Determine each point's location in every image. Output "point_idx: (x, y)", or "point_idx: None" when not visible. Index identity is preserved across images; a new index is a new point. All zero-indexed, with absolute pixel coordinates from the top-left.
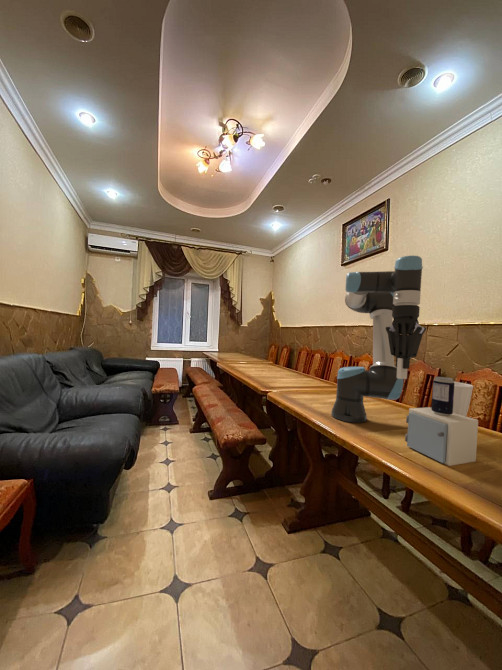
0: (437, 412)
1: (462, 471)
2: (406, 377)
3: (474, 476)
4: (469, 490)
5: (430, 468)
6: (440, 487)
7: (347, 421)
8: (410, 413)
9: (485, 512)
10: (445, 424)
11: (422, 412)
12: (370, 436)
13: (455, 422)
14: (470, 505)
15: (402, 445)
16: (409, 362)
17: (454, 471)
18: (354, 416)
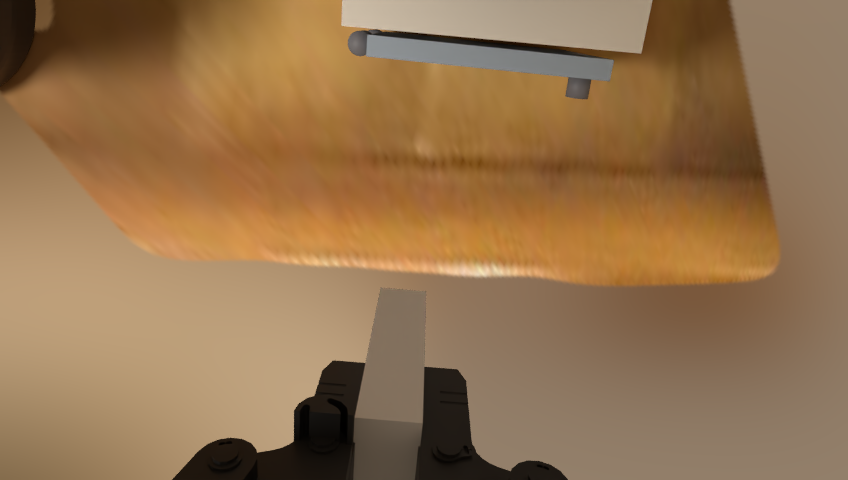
0: None
1: None
2: (425, 303)
3: (666, 35)
4: (692, 172)
5: (553, 149)
6: (636, 247)
7: (15, 71)
8: (377, 56)
9: (757, 254)
10: (605, 64)
11: (438, 21)
12: (233, 116)
13: (648, 16)
14: (723, 259)
15: None
16: (469, 421)
17: None
18: (2, 36)
